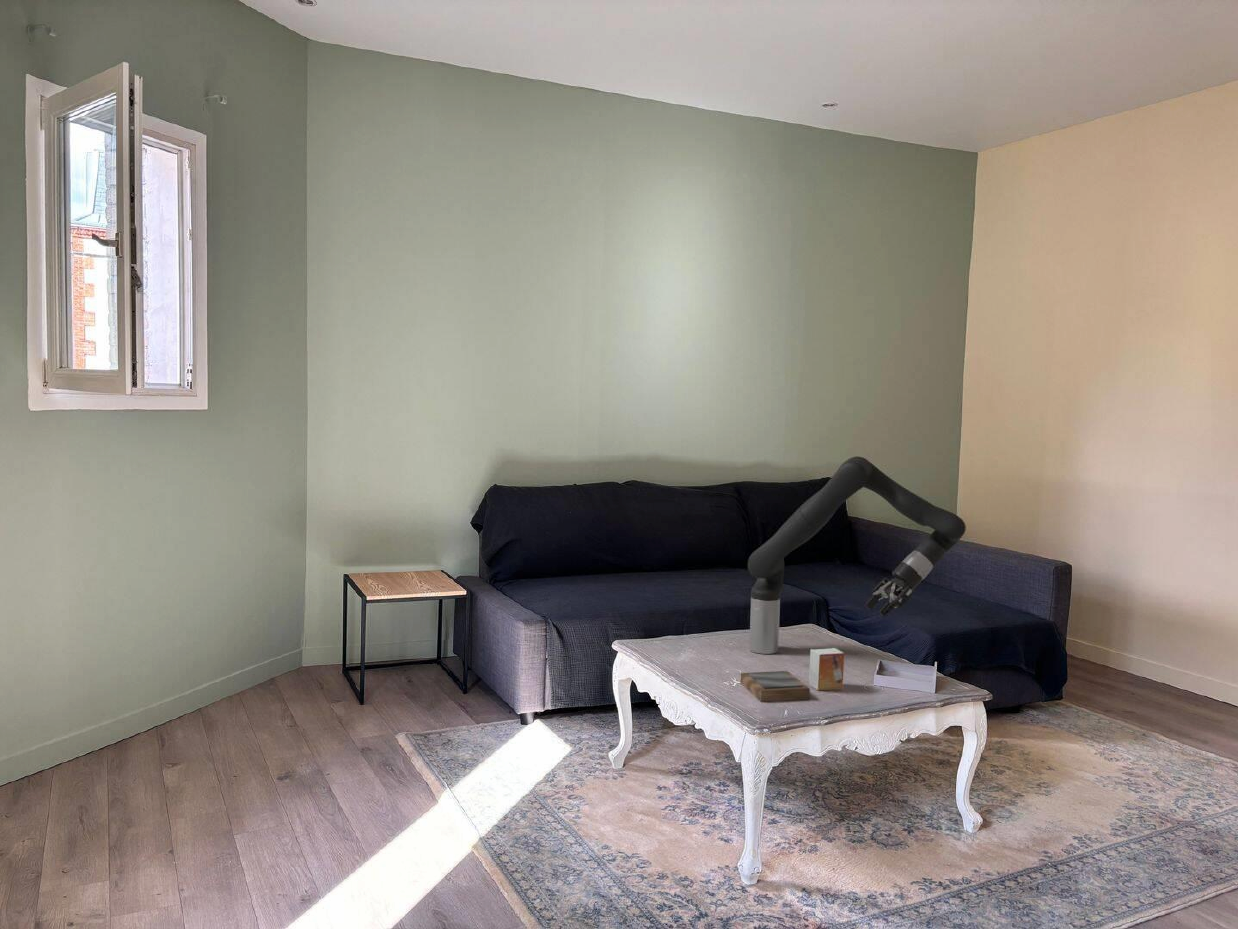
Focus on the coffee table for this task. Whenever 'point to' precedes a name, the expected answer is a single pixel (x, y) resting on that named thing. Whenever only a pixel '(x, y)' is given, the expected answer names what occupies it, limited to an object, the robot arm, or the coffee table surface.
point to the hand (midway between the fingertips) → (874, 610)
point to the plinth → (774, 686)
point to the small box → (826, 669)
